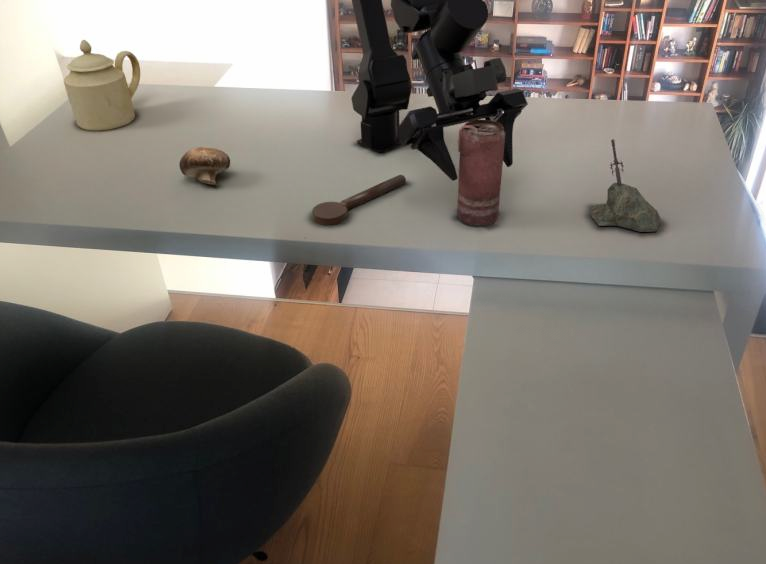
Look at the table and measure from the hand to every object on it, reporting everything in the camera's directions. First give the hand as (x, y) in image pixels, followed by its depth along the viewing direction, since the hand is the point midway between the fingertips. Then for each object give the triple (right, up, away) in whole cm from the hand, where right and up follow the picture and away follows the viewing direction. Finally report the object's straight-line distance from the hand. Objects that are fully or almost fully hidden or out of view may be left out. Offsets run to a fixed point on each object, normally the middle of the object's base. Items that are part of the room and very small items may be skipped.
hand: (483, 172), depth 98 cm
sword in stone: (+22, -6, +5) cm, 23 cm away
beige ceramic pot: (-69, +21, +40) cm, 82 cm away
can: (0, -6, +6) cm, 8 cm away
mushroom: (-43, +3, +17) cm, 47 cm away
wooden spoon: (-18, -2, +10) cm, 21 cm away
